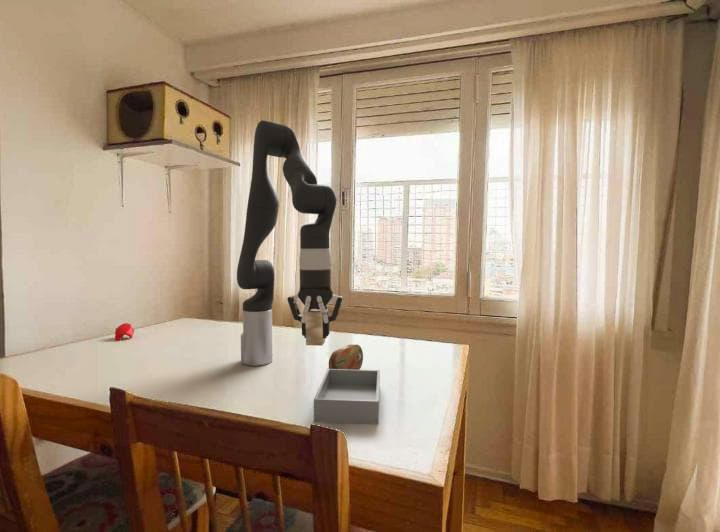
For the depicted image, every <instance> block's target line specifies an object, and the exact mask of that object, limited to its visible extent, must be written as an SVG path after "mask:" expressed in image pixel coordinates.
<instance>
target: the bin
mask: <svg viewBox="0 0 720 532" xmlns="http://www.w3.org/2000/svg"><path fill="white" fill-rule="evenodd" d="M380 376H381V370H380V369H378V370H376V369H360V370H348V369H329V368H327V370H326V372H325V374H324V376H323V378H322V381H321V383H320V385H319V387H318V390H317V391H316V394H315V396H314V397H313V423H335V424H337V423H338V424H362V425H363V424H364V425H379V419H380V418H379V417H380V416H379V413H380V389H381V388H380V387H381V386H380V383H381V381H380V379H381V378H380Z"/></svg>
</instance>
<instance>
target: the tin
mask: <svg viewBox="0 0 720 532" xmlns="http://www.w3.org/2000/svg"><path fill="white" fill-rule="evenodd" d="M363 361H364V353H363V348H362V347H361V346H360V345H359V344H348V345H345V346H343V347H340V348H339V349H336V350H335V351H333V352H332V353H331V355H330V357H329V359H328V369H348V370H361V367H362V366H363V363H364V362H363Z"/></svg>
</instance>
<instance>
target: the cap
mask: <svg viewBox="0 0 720 532" xmlns="http://www.w3.org/2000/svg"><path fill="white" fill-rule="evenodd" d="M114 330H115V331H114V341H115V342H118V341H120V340H121V339H122V338H123V337H124V336H127V337H129V339H132V338H133V335H134V333H135V329H134V327H133V326H132V324H130V323H128V322H125V323H122V324H121V325H119V326H117V327H116V328H115V329H114Z"/></svg>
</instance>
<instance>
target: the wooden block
mask: <svg viewBox="0 0 720 532" xmlns="http://www.w3.org/2000/svg"><path fill="white" fill-rule="evenodd" d="M323 323H324V321H323V314H322V312H320V310H318V309H312V310H310V311H309V312H306V338H305V346H317V347H318V346H323V345H324V344H325V343H326V339H324V338H323Z"/></svg>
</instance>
